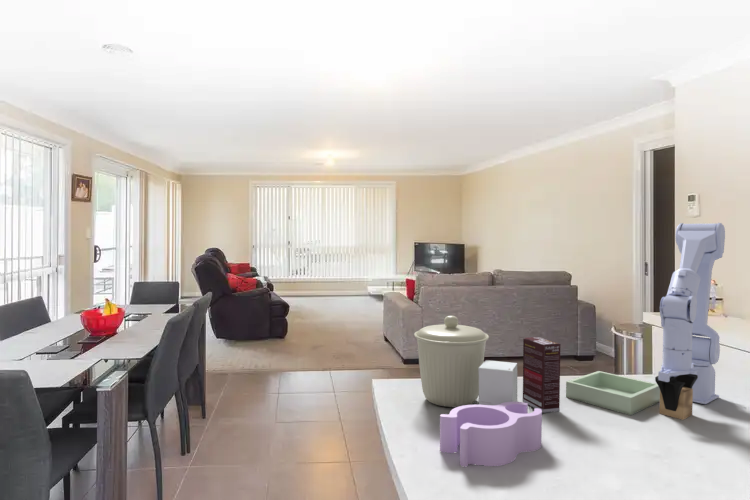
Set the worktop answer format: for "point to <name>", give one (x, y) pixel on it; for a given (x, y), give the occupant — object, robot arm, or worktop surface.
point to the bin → (613, 392)
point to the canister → (450, 362)
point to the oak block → (679, 405)
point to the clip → (491, 432)
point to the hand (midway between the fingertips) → (675, 407)
